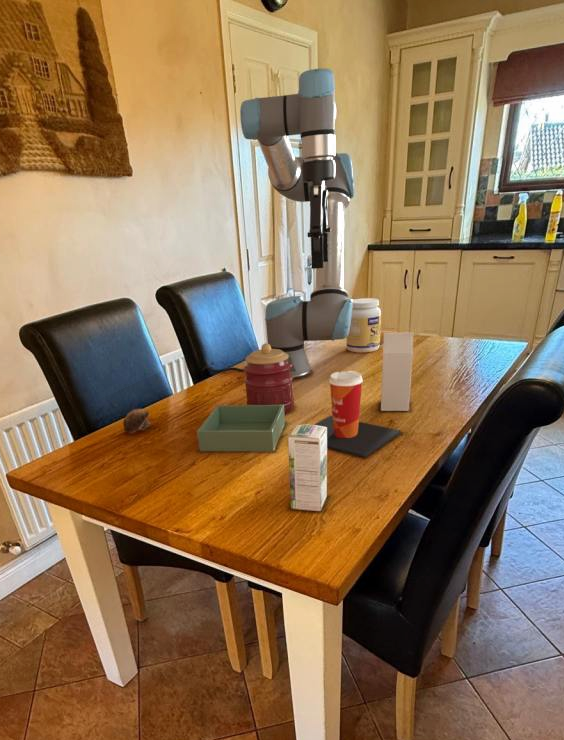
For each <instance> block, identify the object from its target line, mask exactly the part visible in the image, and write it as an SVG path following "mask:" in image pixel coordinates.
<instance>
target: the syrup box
mask: <svg viewBox="0 0 564 740" xmlns="http://www.w3.org/2000/svg"><path fill="white" fill-rule="evenodd" d="M287 441H288V445H287V446H288V468H289V469H288V470H289V492H290V495H289V496H290V509H292V510H303V511H314V512H321V511H322V509H323V507H324V504H325V502H326V500H327V497H328V448H327V427H324V426H318V425H314V424H296V425H295V427H294V428H293V430H292V431H291V433H290V434H289V436H288V438H287Z"/></svg>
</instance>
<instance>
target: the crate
mask: <svg viewBox="0 0 564 740" xmlns="http://www.w3.org/2000/svg"><path fill="white" fill-rule="evenodd" d="M285 425H286V413H285V412H284V405H247V404H229V405H228V404H222V405H215V407H214V408H213V410H211V413H210V414H208V416H207V418H206V419H205V420H204V422H202V424H201V425H200V427H199V428H198V429H197V430H196V435H197V442H198V448H199V452H259V453H260V452H261V453H263V452H264V453H266V452H268V453H269V452H270V453H271V452H272V453H273V452H275V450H276V447H277V445H278V442H279V440H280V438H281V434H282V433H283V429H284V427H285Z"/></svg>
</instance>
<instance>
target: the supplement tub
mask: <svg viewBox="0 0 564 740" xmlns="http://www.w3.org/2000/svg"><path fill="white" fill-rule="evenodd" d="M352 300H353V307H352V316H351V323H350V329H349V334H348V336H347V337H346V344H345V345H346V349H347V350H348V351H349V352H352V353H356V354H357V353H358V354H359V353H360V354H361V353H362V354H363V353H365V354H366V353H372V352H376V351H377V350H378V349H379V348H380V347H381V346H380V345H381V323H382V322H381V320H382V311H381V308H380V307H379V306H380V299H378V298H373V297H372V298H370V297H364V298H356V299H355V298H354V299H352Z"/></svg>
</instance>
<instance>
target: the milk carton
mask: <svg viewBox="0 0 564 740" xmlns="http://www.w3.org/2000/svg"><path fill="white" fill-rule="evenodd" d="M413 356H414V331H409V332H407V331H406V332H405V331H404V332H384V333H383V345H382V364H381V365H382V368H381V391H380V392H381V393H380V411H381V412H409V411H410V400H411V399H410V397H411V385H412V370H413V358H414V357H413Z"/></svg>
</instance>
